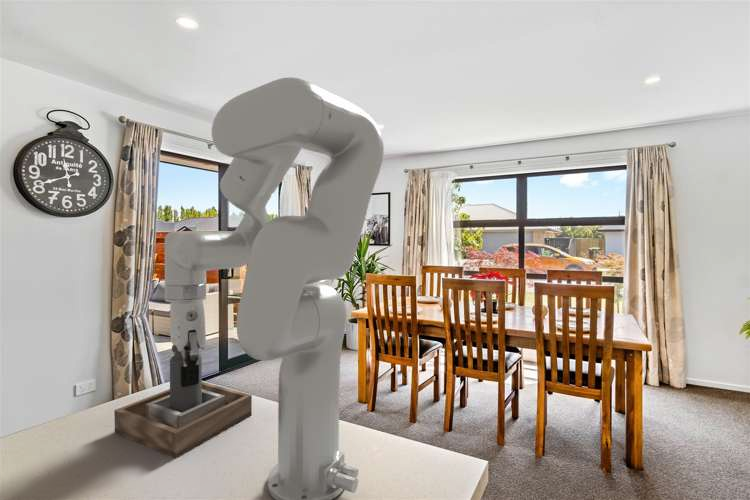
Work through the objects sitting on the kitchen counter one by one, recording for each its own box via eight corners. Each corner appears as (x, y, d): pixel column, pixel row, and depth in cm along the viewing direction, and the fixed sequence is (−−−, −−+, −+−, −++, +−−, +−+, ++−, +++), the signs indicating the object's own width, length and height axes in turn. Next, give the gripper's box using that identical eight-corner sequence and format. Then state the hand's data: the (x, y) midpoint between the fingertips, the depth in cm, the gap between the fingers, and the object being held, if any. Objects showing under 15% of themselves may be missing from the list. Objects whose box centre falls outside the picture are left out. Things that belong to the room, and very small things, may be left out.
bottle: (207, 402, 82) (207, 333, 81) (191, 415, 76) (191, 340, 75) (181, 400, 82) (181, 331, 82) (163, 413, 77) (163, 339, 76)
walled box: (251, 415, 83) (251, 392, 83) (175, 458, 67) (175, 430, 67) (194, 398, 91) (194, 377, 91) (114, 432, 75) (114, 407, 75)
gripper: (217, 297, 74) (217, 389, 74) (195, 285, 87) (195, 364, 88) (174, 300, 69) (174, 399, 70) (157, 288, 82) (157, 371, 83)
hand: (186, 379), depth 79 cm, fingers closed on bottle, 5 cm apart
